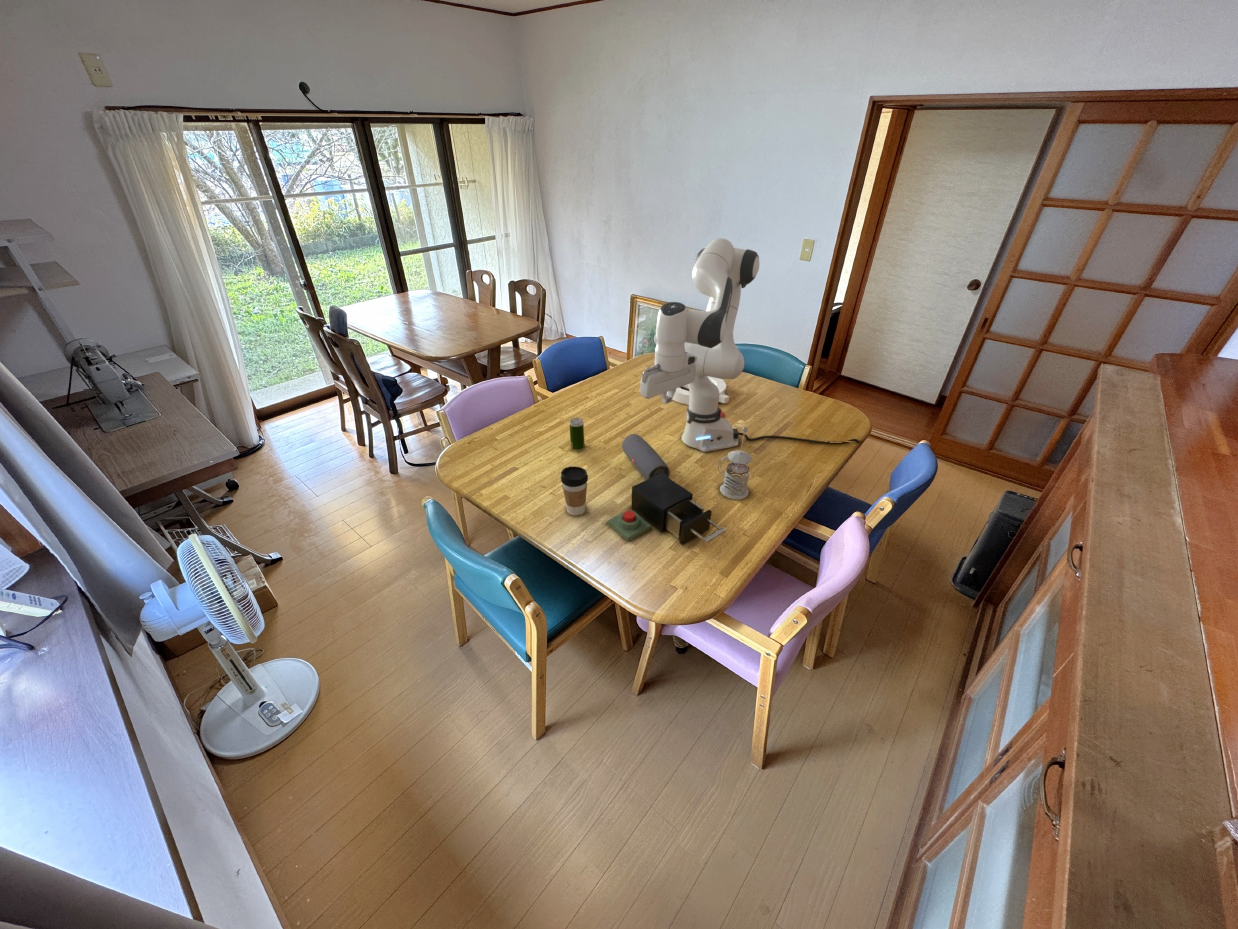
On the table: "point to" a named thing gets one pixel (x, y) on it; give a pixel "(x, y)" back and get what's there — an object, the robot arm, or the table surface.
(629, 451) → the bluetooth speaker
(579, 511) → the coffee cup
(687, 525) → the black drawer
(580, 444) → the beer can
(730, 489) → the french press
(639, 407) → the table surface
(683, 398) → the white circle with bar
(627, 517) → the stop button
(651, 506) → the dark drawer cabinet
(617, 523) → the control block
